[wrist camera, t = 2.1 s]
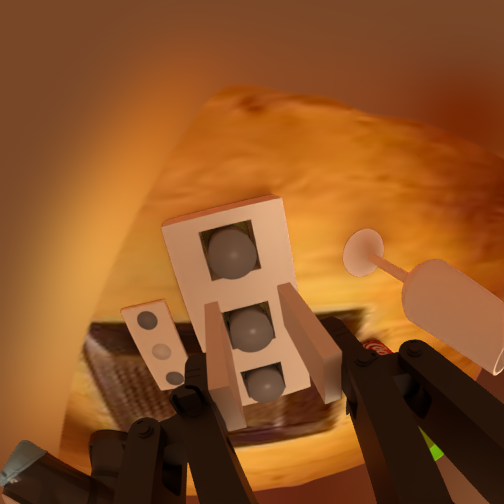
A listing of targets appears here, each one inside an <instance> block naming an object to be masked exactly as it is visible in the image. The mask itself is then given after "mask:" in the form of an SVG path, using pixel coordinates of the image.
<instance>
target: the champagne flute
mask: <svg viewBox="0 0 504 504" xmlns="http://www.w3.org/2000/svg"><path fill="white" fill-rule="evenodd" d="M383 253H384V244H383V240H382V238H381V236H380V235H379V234H378V233H377V232H376V231H374V230H372V229H362V230H359V231H357V232H356V233H354V234H353V235H352V236H351V237H350V239H349V240H348V242H347V243H346V245H345V248H344V252H343V263H344V266H345V268H346V270H347V271H348V272H349V273H350V274H351V275H353V276H356V277H362V276H366V275H368V274H370V273H372V272H373V271H374V270H375V269H376V268H377V267H379V268H381V269H383V270H384V271H386V272H387V273H389V274H391V275H392V276H394V277H395V278H397V279H399V280H400V281H402V282H403V283H404V284H403V288H402V305H403V309H404V312H405V315H406V316H407V318H408V319H409V320H410V321H411V322H412V323H414V324H416V325H417V326H419V327H420V328H422V329H424V330H425V331H427V332H428V333H430V334H432V335H433V336H435V337H436V338H438V339H439V340H441V341H443V342H444V343H446V344H447V345H449V346H450V347H452V348H454V349H455V350H457V351H458V352H460V353H461V354H463V355H464V356H466V357H467V358H469V359H470V360H472V361H474V362H475V363H477V364H478V365H480V366H481V367H483V368H484V369H486V370H487V371H489V372H490V373H492V374H493V375H497V374H498V373H500V372H501V371H502V370H503V369H504V302H503V301H501V300H500V299H499V298H497V297H496V296H495V295H493V294H492V293H491V292H489V291H488V290H487V289H485V288H484V287H482V286H481V285H480V284H478V283H477V282H475V281H474V280H472V279H471V278H469V277H468V276H466V275H465V274H464V273H462V272H461V271H459V270H457V269H456V268H454V267H453V266H451V265H450V264H448V263H447V262H445V261H443V260H440V259H432V260H428V261H425V262H423V263H421V264H419V265H417V266H416V267H415V268H414V269H413V270H412V271H411V272H410V273H408V272H406V271H404V270H403V269H401V268H399V267H397V266H395V265H394V264H392V263H390V262H388V261H387V260H385V259H383V258H382V257H383Z"/></svg>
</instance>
